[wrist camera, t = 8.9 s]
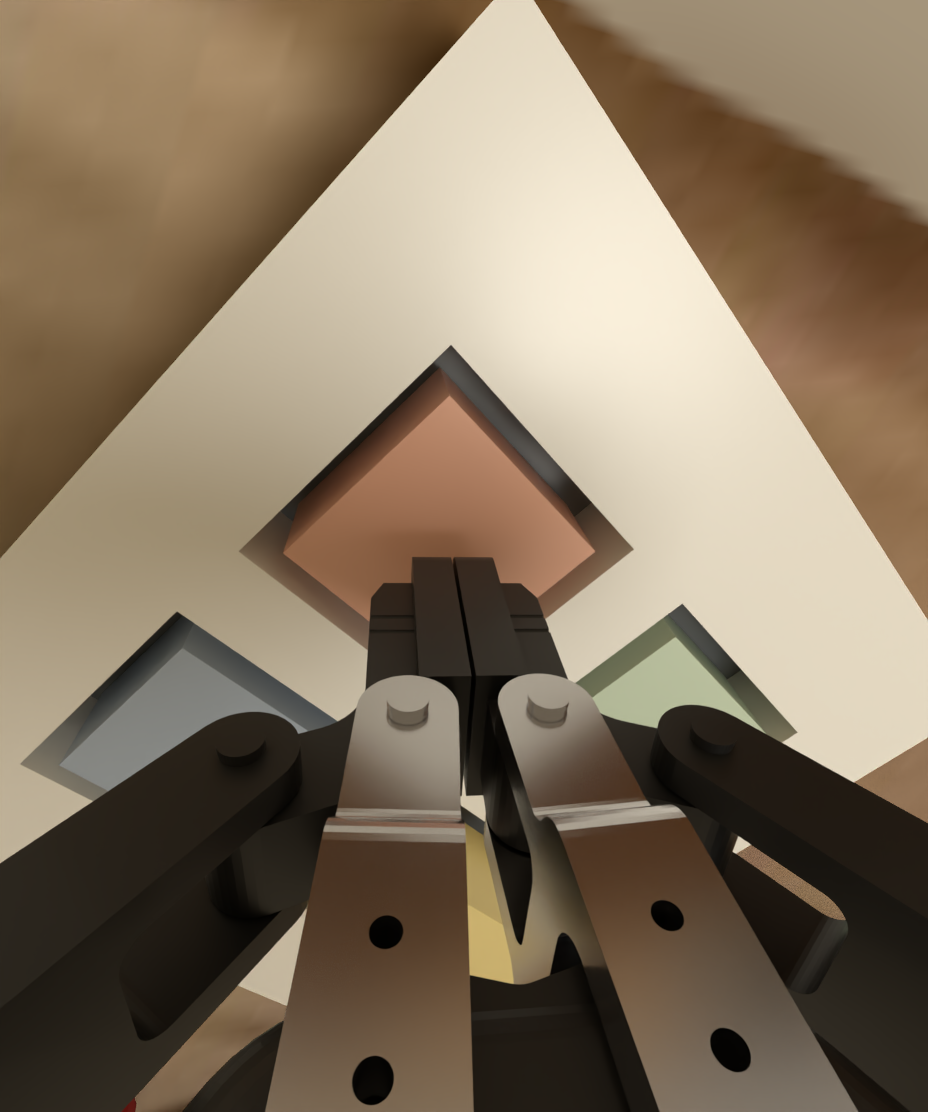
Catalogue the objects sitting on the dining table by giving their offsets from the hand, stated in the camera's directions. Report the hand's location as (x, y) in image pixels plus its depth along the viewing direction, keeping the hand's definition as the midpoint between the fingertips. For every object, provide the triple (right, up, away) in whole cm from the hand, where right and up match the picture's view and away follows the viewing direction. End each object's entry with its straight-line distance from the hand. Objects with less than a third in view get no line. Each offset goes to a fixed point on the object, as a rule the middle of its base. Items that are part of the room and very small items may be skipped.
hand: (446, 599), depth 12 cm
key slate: (-6, -3, +5) cm, 8 cm away
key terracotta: (0, +2, +3) cm, 3 cm away
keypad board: (-1, -2, +7) cm, 7 cm away
